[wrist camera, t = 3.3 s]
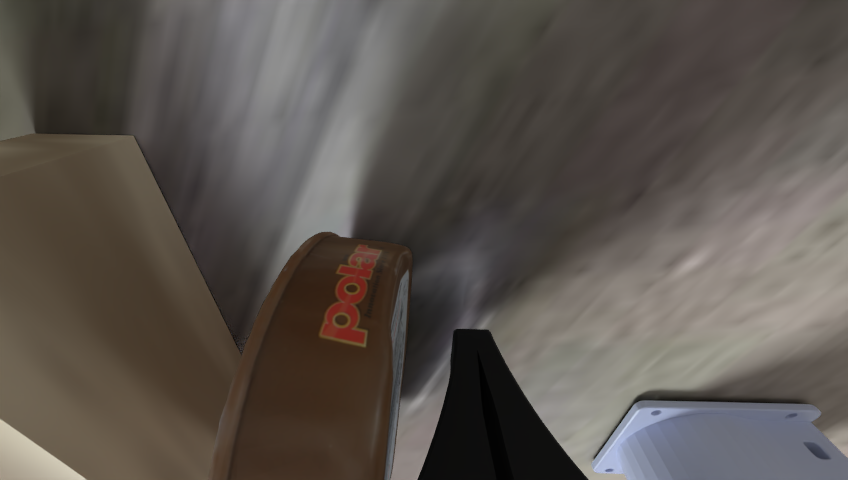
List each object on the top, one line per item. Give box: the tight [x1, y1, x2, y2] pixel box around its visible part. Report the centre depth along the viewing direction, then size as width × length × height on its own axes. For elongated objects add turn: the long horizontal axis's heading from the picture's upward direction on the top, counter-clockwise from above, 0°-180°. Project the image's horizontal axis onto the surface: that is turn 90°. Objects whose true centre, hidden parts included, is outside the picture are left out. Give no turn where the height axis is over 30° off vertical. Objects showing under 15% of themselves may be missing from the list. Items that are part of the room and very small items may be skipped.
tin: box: [208, 232, 413, 480], centre depth 10 cm, size 15×3×8 cm, turn 174°
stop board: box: [0, 134, 241, 480], centre depth 13 cm, size 3×24×6 cm, turn 179°
